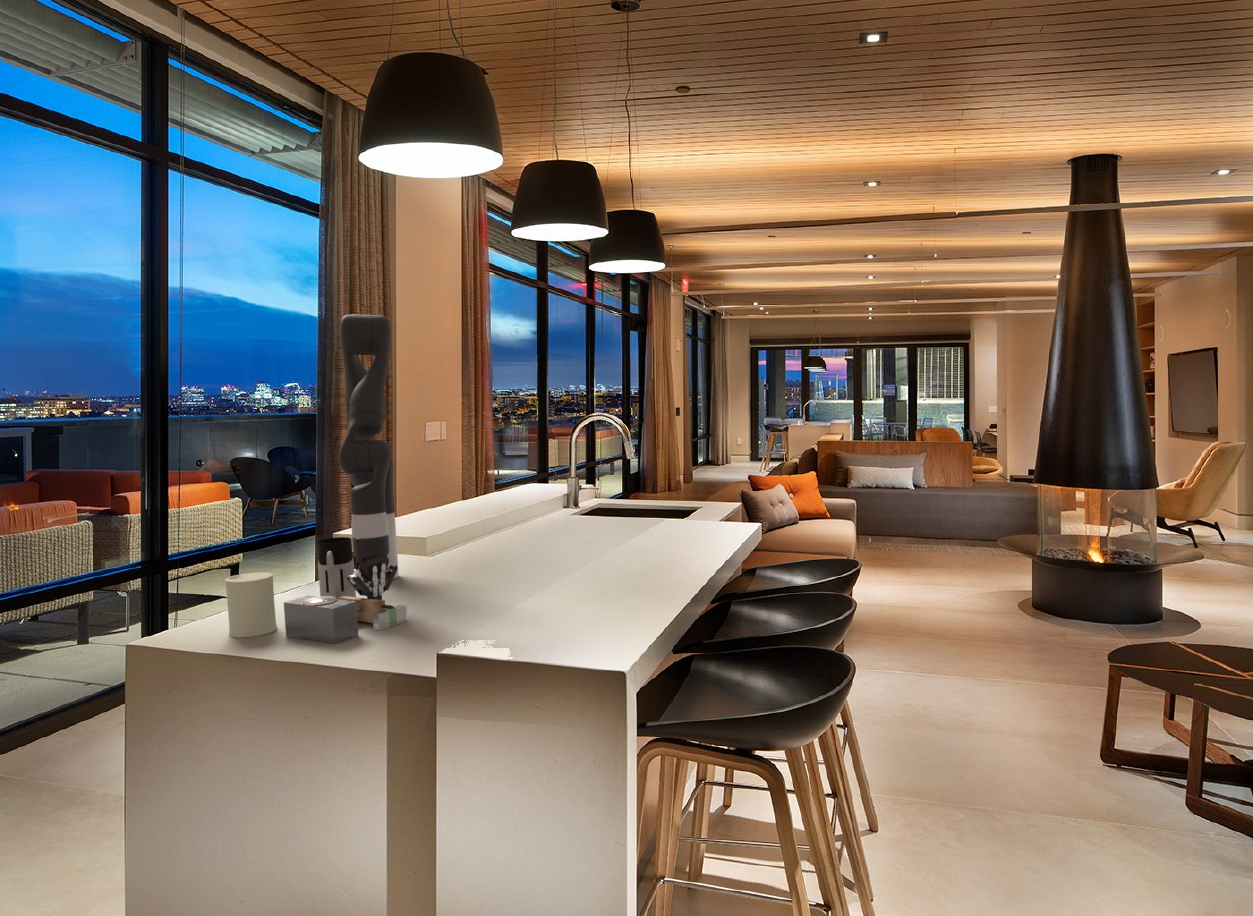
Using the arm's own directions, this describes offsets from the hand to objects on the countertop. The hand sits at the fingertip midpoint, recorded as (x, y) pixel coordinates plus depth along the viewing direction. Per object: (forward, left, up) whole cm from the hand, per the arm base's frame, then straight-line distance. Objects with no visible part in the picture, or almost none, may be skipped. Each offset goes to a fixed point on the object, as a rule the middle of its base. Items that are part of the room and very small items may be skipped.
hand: (375, 612), depth 185 cm
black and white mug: (-17, +4, -1) cm, 17 cm away
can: (-17, -17, -1) cm, 25 cm away
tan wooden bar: (+1, -6, -1) cm, 6 cm away
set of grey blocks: (0, -8, -1) cm, 8 cm away
